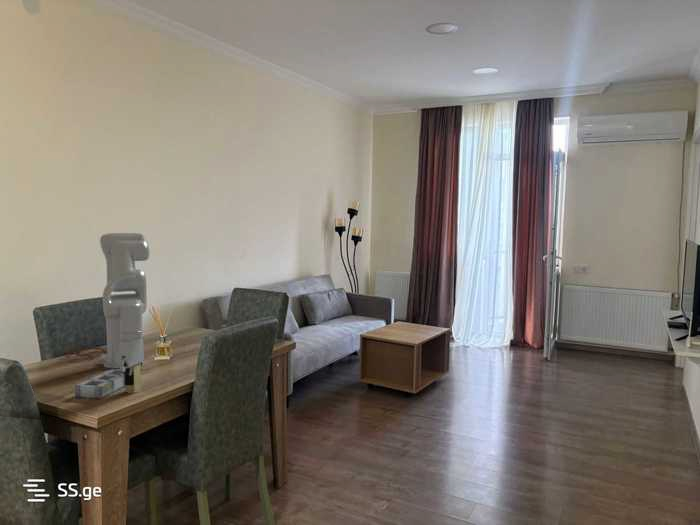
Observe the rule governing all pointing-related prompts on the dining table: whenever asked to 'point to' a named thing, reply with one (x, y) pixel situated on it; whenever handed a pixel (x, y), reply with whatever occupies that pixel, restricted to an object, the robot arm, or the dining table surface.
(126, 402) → the dining table surface
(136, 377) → the peg
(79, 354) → the glasses
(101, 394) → the grey compartment tray
